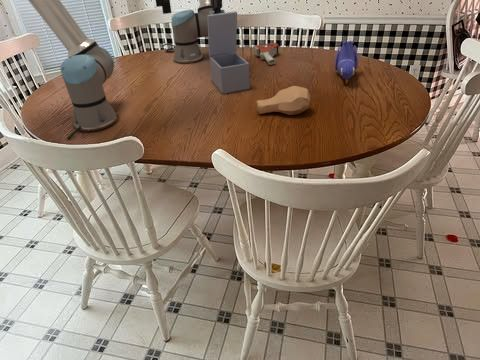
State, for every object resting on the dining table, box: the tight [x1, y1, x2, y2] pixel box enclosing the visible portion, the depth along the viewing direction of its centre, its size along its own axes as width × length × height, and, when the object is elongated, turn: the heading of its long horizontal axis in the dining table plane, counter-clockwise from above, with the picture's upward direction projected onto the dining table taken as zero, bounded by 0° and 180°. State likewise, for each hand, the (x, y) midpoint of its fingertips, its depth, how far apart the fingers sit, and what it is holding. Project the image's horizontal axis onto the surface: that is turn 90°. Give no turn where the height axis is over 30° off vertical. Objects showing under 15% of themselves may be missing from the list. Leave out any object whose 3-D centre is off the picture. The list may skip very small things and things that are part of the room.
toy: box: [334, 40, 359, 85], centre depth 152 cm, size 10×17×25 cm
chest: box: [209, 52, 251, 95], centre depth 154 cm, size 17×12×11 cm
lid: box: [207, 9, 238, 57], centre depth 152 cm, size 17×12×9 cm
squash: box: [255, 85, 312, 116], centre depth 130 cm, size 11×20×9 cm, turn 92°
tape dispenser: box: [252, 42, 280, 66], centre depth 182 cm, size 18×5×20 cm
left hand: (163, 9), depth 123 cm, fingers open, 13 cm apart
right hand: (217, 24), depth 153 cm, fingers closed on lid, 2 cm apart
